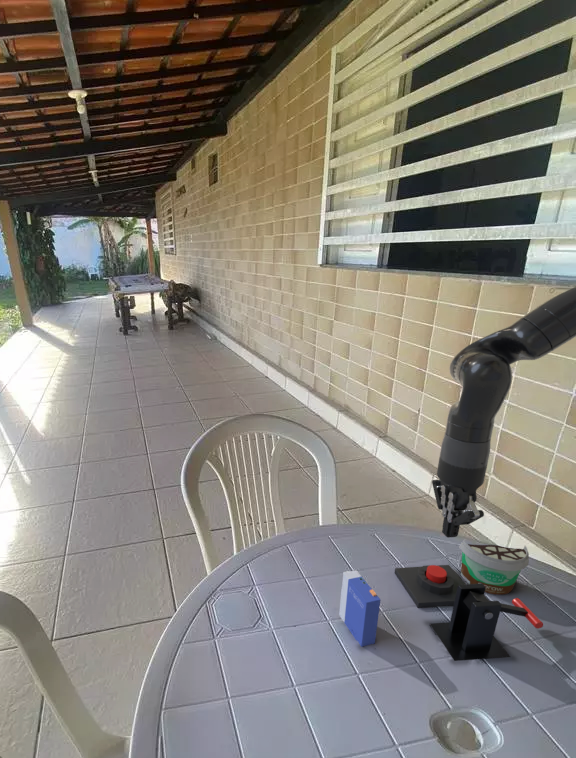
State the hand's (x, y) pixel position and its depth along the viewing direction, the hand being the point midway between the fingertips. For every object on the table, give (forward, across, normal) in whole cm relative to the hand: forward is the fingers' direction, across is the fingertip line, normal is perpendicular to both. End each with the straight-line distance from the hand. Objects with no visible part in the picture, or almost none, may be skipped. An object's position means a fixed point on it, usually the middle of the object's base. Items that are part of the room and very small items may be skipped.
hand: (449, 534), depth 84 cm
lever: (+7, -13, -2) cm, 15 cm away
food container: (+15, -1, -10) cm, 18 cm away
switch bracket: (+15, -13, +2) cm, 19 cm away
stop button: (+11, 0, +1) cm, 11 cm away
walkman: (+15, -9, +21) cm, 27 cm away
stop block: (+15, 0, +1) cm, 15 cm away
